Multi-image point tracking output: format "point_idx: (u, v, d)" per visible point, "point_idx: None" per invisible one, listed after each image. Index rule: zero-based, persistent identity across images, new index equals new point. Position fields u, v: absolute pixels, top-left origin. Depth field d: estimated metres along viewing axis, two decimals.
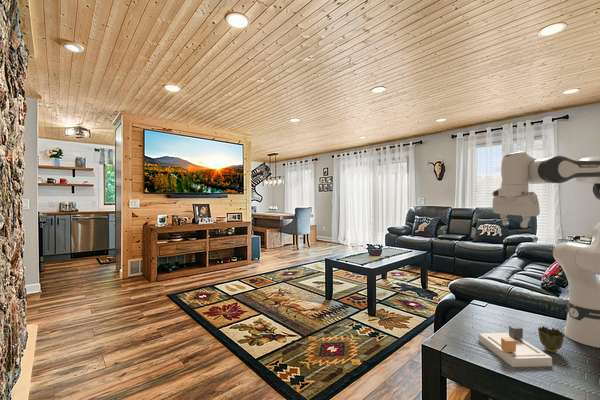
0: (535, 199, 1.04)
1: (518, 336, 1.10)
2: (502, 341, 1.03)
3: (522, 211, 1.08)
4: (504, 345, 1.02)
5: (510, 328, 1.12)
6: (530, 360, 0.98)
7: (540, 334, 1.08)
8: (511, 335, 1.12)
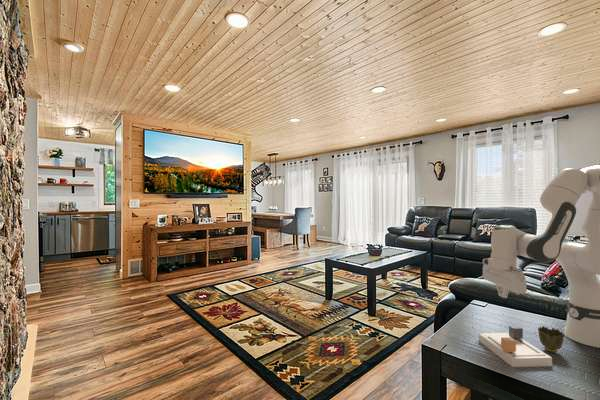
0: (522, 278, 1.08)
1: (518, 336, 1.10)
2: (502, 341, 1.03)
3: (510, 286, 1.12)
4: (504, 345, 1.02)
5: (510, 328, 1.12)
6: (530, 360, 0.98)
7: (540, 334, 1.08)
8: (511, 335, 1.12)
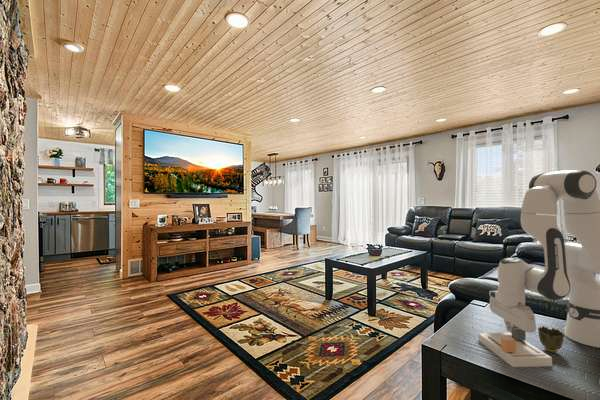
0: (531, 316, 1.04)
1: (521, 338, 1.09)
2: (502, 341, 1.03)
3: (519, 324, 1.08)
4: (504, 345, 1.02)
5: (513, 330, 1.11)
6: (530, 360, 0.98)
7: (540, 334, 1.08)
8: (514, 337, 1.10)
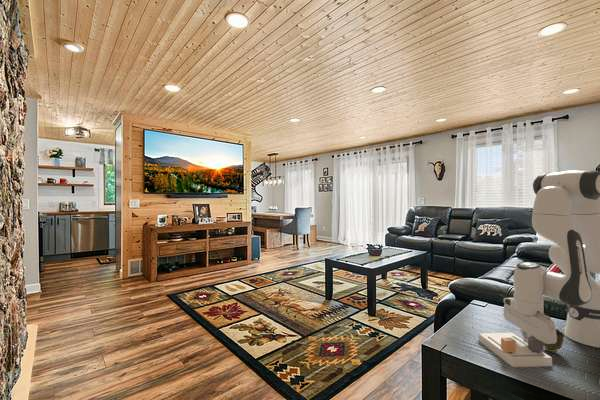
0: (552, 326, 0.95)
1: (538, 349, 1.01)
2: (502, 341, 1.03)
3: (537, 334, 0.99)
4: (504, 345, 1.02)
5: (529, 340, 1.03)
6: (530, 360, 0.98)
7: None
8: (531, 348, 1.02)
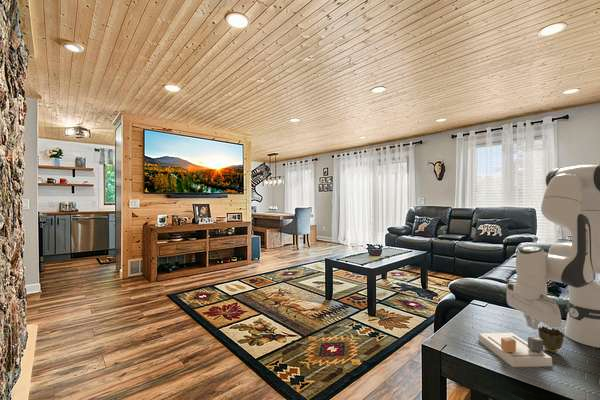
0: (556, 310, 0.94)
1: (538, 349, 1.01)
2: (502, 341, 1.03)
3: (542, 318, 0.98)
4: (504, 345, 1.02)
5: (529, 340, 1.03)
6: (530, 360, 0.98)
7: (540, 334, 1.08)
8: (530, 347, 1.03)
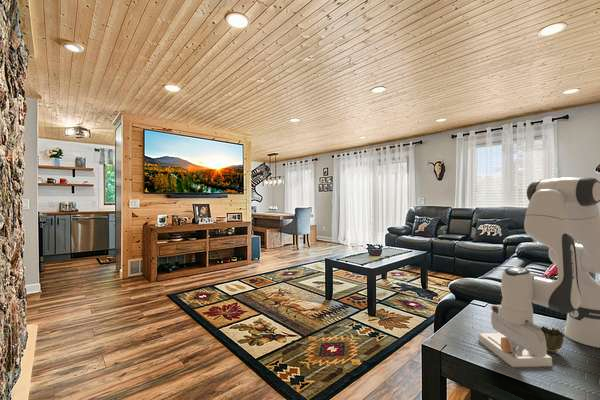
0: (541, 337, 0.88)
1: None
2: (502, 341, 1.03)
3: (526, 345, 0.92)
4: (503, 345, 1.02)
5: None
6: (530, 360, 0.98)
7: None
8: None
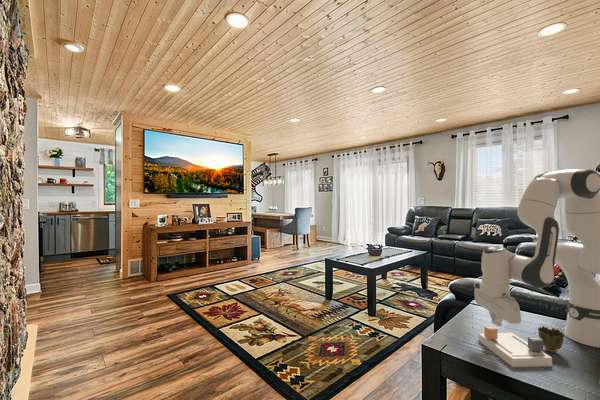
0: (516, 307, 0.99)
1: (538, 349, 1.01)
2: (485, 329, 1.12)
3: (503, 315, 1.03)
4: (487, 333, 1.11)
5: (529, 340, 1.03)
6: (530, 360, 0.98)
7: (540, 334, 1.08)
8: (530, 347, 1.03)
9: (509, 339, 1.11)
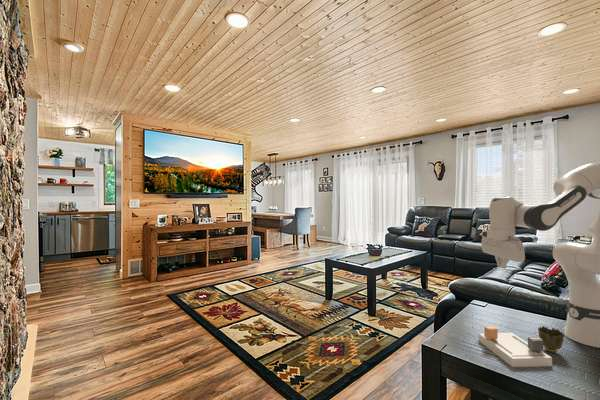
0: (520, 246, 1.08)
1: (538, 349, 1.01)
2: (485, 329, 1.12)
3: (509, 255, 1.12)
4: (487, 333, 1.11)
5: (529, 340, 1.03)
6: (530, 360, 0.98)
7: (540, 334, 1.08)
8: (530, 347, 1.03)
9: (509, 339, 1.11)
